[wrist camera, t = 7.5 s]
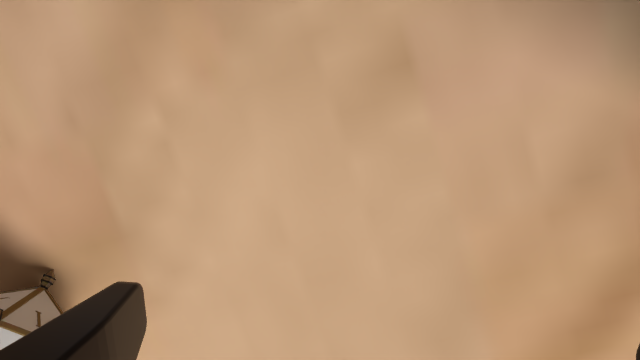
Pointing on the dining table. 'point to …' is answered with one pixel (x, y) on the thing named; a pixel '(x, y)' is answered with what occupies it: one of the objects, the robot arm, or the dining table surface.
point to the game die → (26, 310)
